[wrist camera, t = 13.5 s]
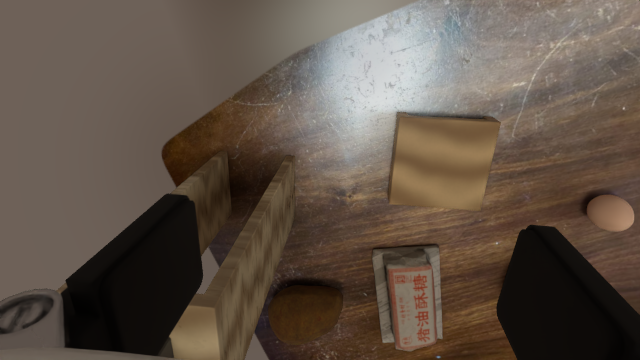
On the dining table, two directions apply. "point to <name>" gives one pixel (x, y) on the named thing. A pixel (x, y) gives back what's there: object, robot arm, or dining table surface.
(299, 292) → the potato
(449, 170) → the tan flat square block
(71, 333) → the robot arm
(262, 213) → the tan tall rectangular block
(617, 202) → the egg
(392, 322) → the packaged product
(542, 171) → the dining table surface
